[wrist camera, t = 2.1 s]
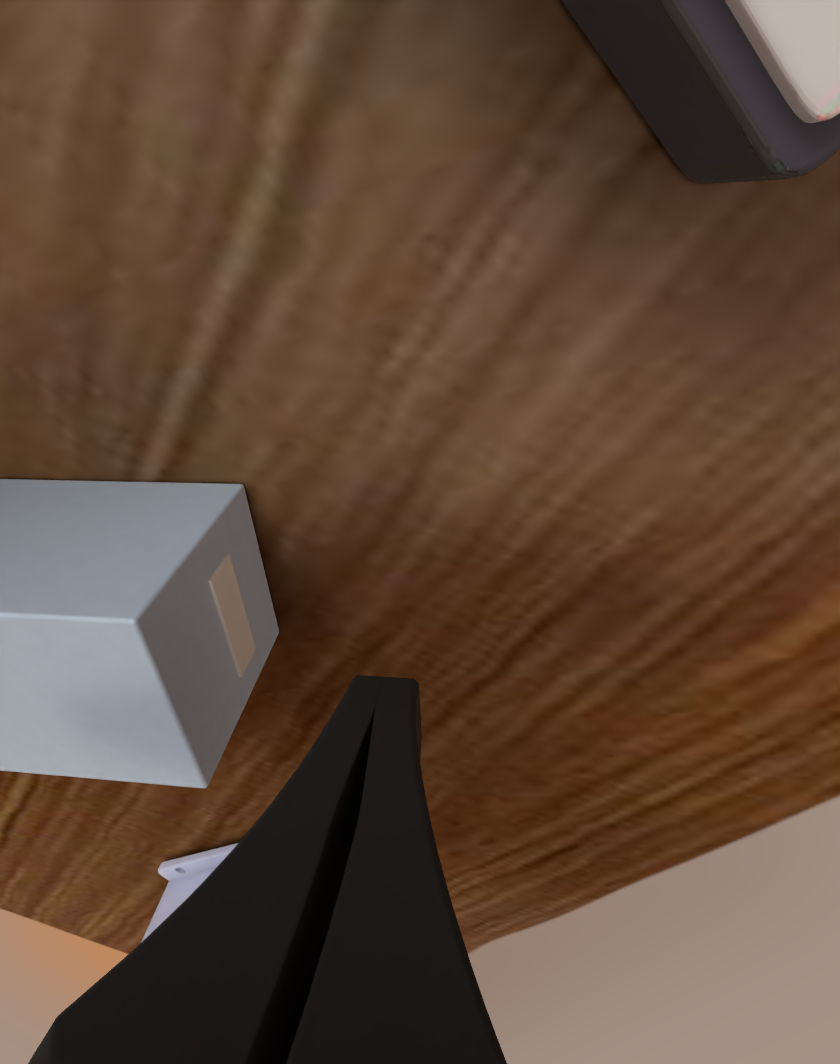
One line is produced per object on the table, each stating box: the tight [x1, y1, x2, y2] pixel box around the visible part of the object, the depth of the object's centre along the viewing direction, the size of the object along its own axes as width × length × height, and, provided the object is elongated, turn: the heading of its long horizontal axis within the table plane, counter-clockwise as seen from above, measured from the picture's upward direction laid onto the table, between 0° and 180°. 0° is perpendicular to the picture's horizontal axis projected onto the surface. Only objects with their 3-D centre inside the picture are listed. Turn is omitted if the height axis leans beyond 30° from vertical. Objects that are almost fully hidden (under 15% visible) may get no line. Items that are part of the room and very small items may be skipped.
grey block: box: [0, 479, 279, 788], centre depth 15 cm, size 8×6×6 cm
